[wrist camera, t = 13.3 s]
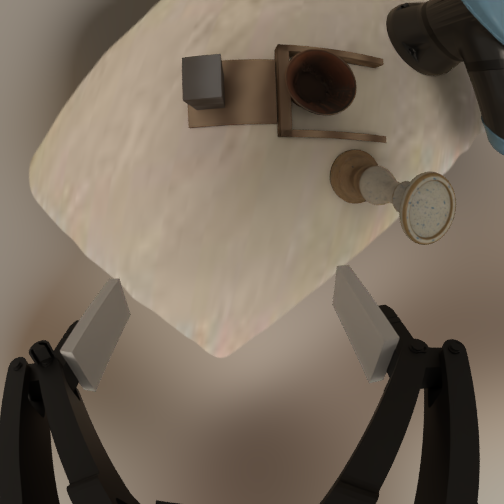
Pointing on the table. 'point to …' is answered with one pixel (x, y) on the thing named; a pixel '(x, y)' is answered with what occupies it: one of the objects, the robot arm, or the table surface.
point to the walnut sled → (253, 91)
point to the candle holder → (397, 194)
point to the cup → (320, 82)
